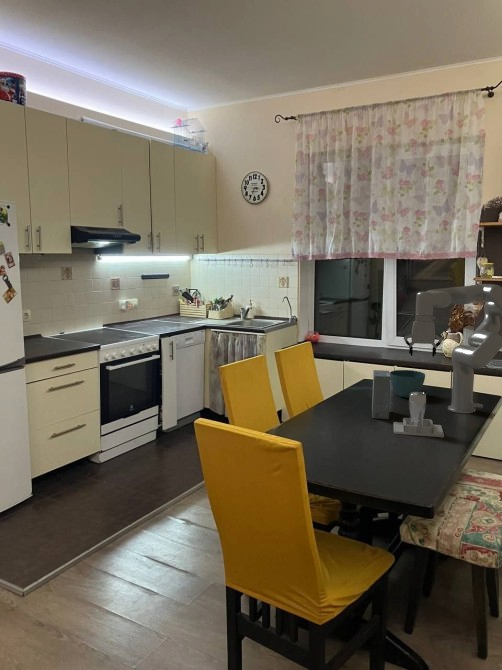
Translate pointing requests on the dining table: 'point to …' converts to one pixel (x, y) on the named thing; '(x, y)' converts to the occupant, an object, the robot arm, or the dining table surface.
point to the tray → (400, 430)
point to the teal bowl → (406, 381)
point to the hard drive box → (381, 394)
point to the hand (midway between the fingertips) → (422, 355)
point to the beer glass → (417, 407)
